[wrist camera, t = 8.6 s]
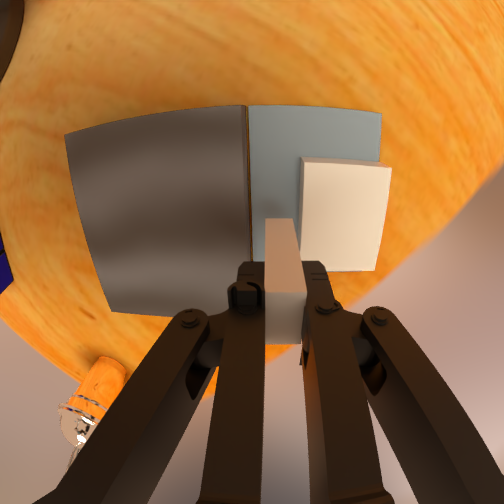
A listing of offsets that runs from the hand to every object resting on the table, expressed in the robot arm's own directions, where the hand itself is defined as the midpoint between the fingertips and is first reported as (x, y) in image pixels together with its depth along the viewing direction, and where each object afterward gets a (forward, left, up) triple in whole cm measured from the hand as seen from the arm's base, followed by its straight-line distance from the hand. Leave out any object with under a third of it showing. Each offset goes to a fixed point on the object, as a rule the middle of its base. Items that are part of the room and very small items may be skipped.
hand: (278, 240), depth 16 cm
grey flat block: (0, -8, -5) cm, 10 cm away
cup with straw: (+22, -22, -6) cm, 32 cm away
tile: (0, +5, -3) cm, 6 cm away
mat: (-1, +3, -5) cm, 6 cm away
